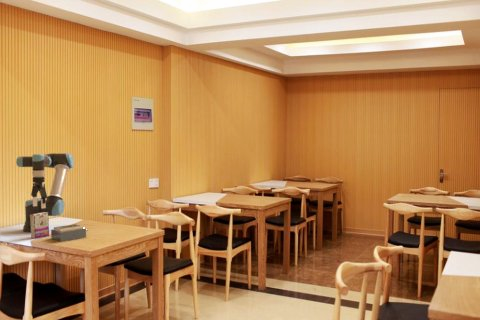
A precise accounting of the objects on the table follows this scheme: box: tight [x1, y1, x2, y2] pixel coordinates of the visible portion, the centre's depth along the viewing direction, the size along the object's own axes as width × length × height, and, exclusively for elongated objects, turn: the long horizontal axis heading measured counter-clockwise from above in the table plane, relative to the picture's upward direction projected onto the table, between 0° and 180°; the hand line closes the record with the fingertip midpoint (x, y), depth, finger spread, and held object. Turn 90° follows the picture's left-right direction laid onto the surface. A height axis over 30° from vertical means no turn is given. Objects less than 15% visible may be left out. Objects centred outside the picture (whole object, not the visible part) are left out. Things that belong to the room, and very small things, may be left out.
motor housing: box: [50, 223, 89, 243], centre depth 315 cm, size 14×23×8 cm, turn 137°
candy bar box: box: [30, 212, 50, 240], centre depth 316 cm, size 11×5×16 cm, turn 148°
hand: (39, 207), depth 315 cm, fingers open, 13 cm apart
